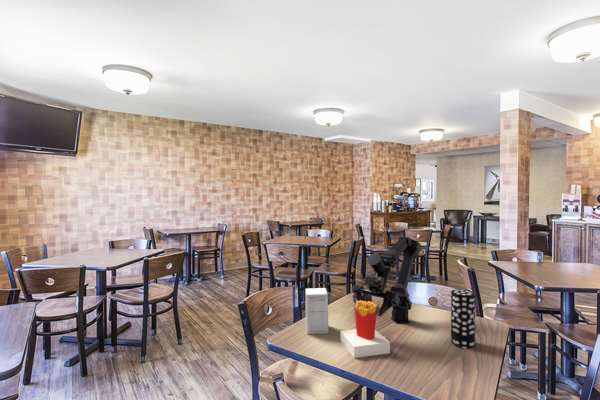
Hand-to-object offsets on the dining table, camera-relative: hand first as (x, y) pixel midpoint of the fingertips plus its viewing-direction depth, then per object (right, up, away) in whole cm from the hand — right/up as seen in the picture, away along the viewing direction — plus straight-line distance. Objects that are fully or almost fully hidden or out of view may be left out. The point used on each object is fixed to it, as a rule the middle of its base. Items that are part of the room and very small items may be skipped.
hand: (368, 313), depth 128 cm
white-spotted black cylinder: (+36, -12, -1) cm, 38 cm away
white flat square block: (-2, -12, -3) cm, 12 cm away
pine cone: (+5, -11, +40) cm, 41 cm away
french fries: (-1, -8, -3) cm, 8 cm away
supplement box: (-19, -12, +14) cm, 27 cm away
